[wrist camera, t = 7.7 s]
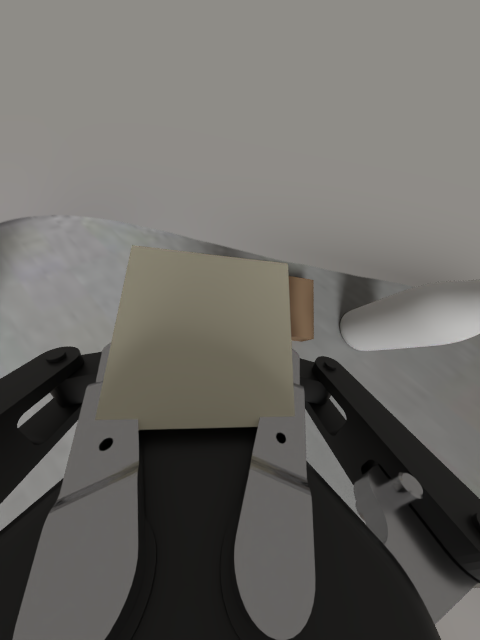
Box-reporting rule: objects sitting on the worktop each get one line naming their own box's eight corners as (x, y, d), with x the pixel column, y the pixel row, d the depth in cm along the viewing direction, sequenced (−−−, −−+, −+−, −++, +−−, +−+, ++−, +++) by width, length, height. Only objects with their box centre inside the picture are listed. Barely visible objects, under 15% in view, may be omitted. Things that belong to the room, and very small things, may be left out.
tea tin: (177, 382, 15) (80, 441, 4) (184, 321, 16) (126, 238, 5) (239, 383, 15) (302, 433, 5) (241, 325, 17) (293, 259, 6)
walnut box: (245, 334, 29) (250, 330, 25) (250, 281, 31) (255, 270, 28) (300, 341, 30) (313, 338, 26) (301, 289, 33) (313, 280, 29)
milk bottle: (354, 359, 30) (597, 354, 11) (330, 321, 31) (513, 259, 12) (383, 338, 32) (632, 304, 13) (359, 303, 33) (557, 225, 14)
